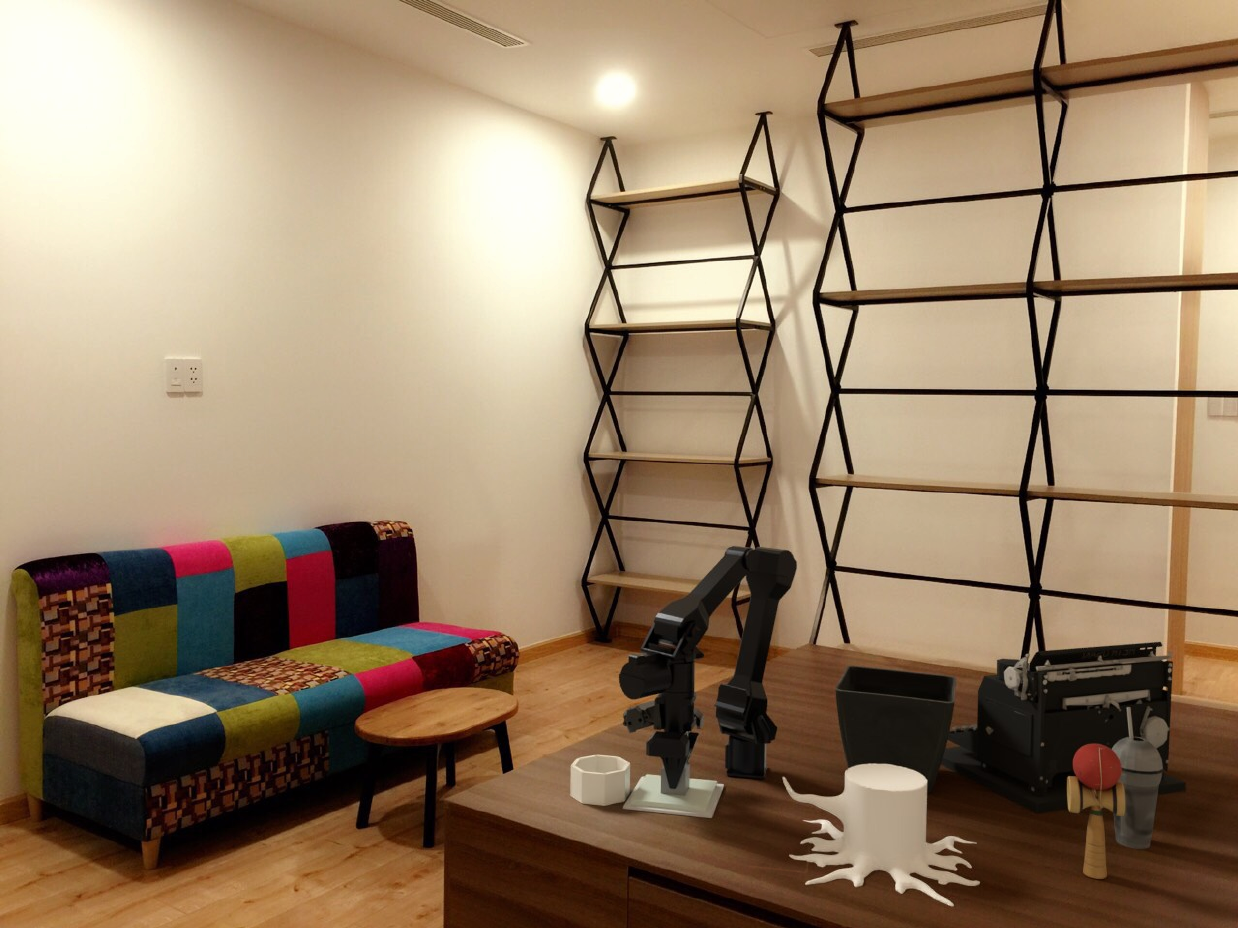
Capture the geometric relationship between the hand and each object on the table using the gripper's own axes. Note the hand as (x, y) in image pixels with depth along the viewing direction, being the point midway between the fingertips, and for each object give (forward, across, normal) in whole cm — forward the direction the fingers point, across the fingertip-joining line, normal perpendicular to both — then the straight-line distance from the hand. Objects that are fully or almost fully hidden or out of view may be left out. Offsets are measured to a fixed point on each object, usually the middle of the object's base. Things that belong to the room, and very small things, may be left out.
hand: (675, 783), depth 164 cm
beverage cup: (+2, 0, +68) cm, 68 cm away
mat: (+2, 0, 0) cm, 2 cm away
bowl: (+2, +2, -12) cm, 12 cm away
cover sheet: (+2, 0, 0) cm, 2 cm away
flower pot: (+2, -19, +35) cm, 40 cm away
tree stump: (+3, +12, +32) cm, 34 cm away
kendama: (+2, +13, +60) cm, 61 cm away
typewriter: (+3, -28, +62) cm, 68 cm away
